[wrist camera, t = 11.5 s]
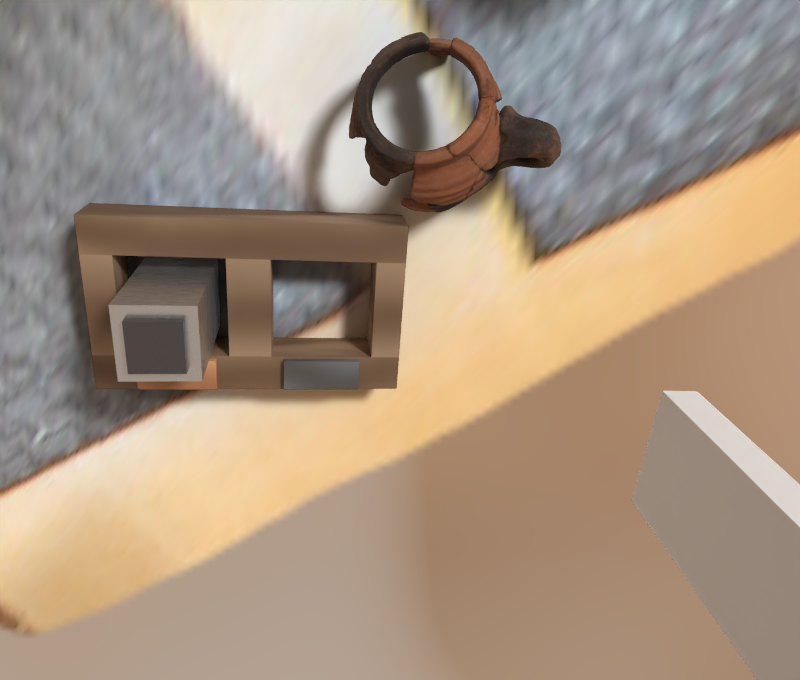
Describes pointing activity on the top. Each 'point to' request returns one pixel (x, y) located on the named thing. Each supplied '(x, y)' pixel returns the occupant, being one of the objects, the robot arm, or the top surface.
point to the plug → (166, 320)
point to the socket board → (251, 289)
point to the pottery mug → (466, 156)
